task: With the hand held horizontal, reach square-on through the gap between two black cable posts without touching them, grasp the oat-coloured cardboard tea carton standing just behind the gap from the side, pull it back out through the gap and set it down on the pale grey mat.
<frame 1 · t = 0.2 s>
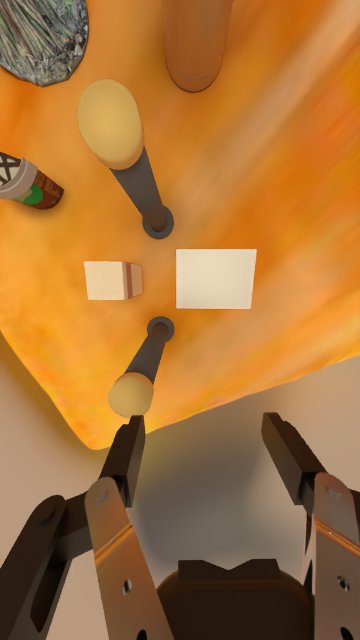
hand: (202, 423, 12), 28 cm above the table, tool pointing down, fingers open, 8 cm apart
gate: (159, 279, 37), on the table
mat: (214, 280, 37), on the table
tree stump: (26, 12, 28), on the table
carton: (129, 279, 38), on the table
food container: (38, 198, 35), on the table
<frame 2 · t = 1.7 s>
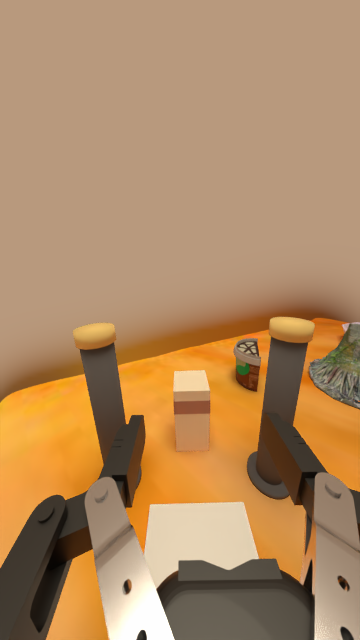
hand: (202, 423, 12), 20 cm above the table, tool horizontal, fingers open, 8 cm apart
gate: (194, 475, 26), on the table
mat: (205, 626, 15), on the table
tree stump: (350, 384, 46), on the table
carton: (191, 436, 33), on the table
food container: (243, 379, 49), on the table
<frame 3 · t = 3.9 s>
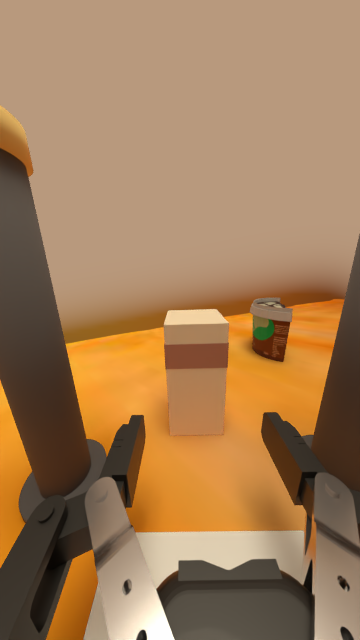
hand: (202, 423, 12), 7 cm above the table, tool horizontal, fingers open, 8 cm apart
gate: (200, 475, 15), on the table
carton: (194, 414, 21), on the table
food container: (262, 349, 37), on the table
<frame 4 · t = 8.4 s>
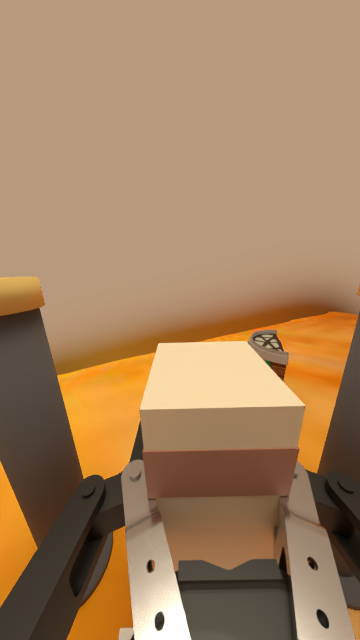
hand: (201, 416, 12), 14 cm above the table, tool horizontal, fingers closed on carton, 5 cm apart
gate: (202, 550, 15), on the table
carton: (205, 524, 12), point 7 cm above the table, touching gripper
food container: (259, 382, 38), on the table
when the fingers open (8 cm above the table, at t = 10.9 s): carton stays where it is, resting on mat.
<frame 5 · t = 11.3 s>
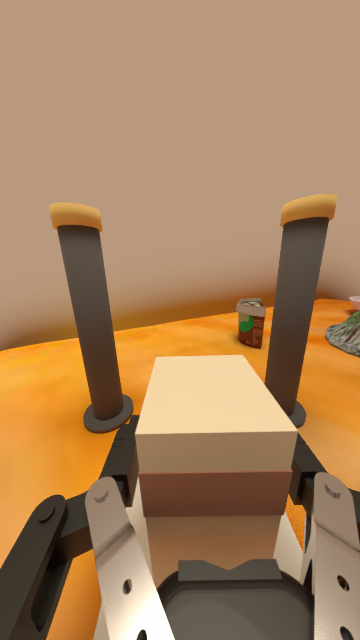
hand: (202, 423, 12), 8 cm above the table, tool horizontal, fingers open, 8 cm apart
gate: (193, 411, 23), on the table
mat: (205, 539, 12), on the table
carton: (203, 536, 12), point 1 cm above the table, touching mat
food container: (246, 340, 46), on the table
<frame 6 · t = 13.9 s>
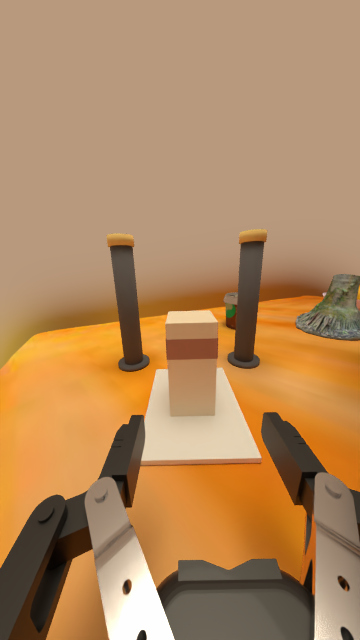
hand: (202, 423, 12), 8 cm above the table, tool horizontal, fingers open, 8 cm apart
gate: (188, 361, 36), on the table
mat: (192, 403, 25), on the table
tree stump: (330, 328, 53), on the table
carton: (191, 400, 24), point 1 cm above the table, touching mat
food container: (232, 325, 58), on the table
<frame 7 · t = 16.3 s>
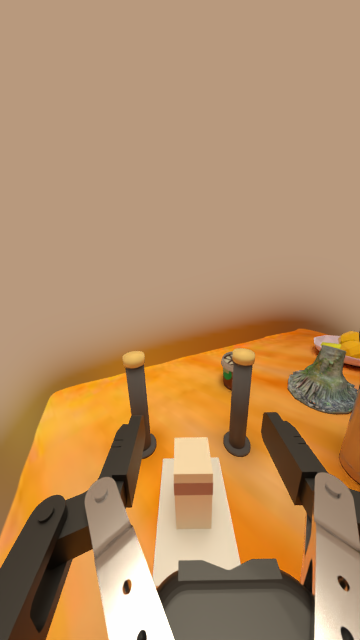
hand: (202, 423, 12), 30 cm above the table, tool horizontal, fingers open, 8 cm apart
fruit bowl: (350, 360, 77), on the table
gate: (190, 444, 42), on the table
mat: (193, 508, 31), on the table
tree stump: (319, 392, 58), on the table
carton: (192, 506, 30), point 1 cm above the table, touching mat
food container: (229, 382, 64), on the table
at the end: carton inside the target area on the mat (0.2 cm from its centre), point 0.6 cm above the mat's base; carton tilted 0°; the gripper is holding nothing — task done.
